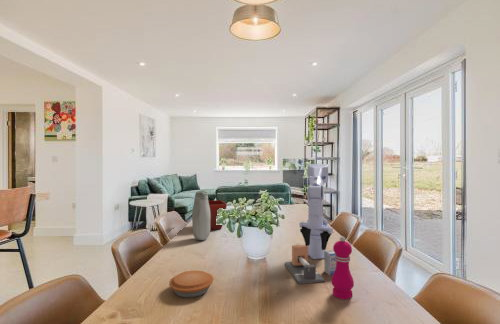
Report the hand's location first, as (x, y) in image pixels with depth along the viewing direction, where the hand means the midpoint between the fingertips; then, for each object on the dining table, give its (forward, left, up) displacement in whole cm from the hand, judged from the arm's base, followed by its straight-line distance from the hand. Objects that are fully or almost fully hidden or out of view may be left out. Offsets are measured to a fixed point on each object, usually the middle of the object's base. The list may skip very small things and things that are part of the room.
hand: (315, 247), depth 116 cm
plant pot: (-78, -43, -10) cm, 89 cm away
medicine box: (+3, +7, -10) cm, 13 cm away
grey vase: (-52, -48, -10) cm, 71 cm away
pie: (+9, -50, -10) cm, 52 cm away
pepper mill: (+21, +1, -10) cm, 23 cm away
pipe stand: (+1, -6, -10) cm, 11 cm away
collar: (-3, -6, -8) cm, 10 cm away
